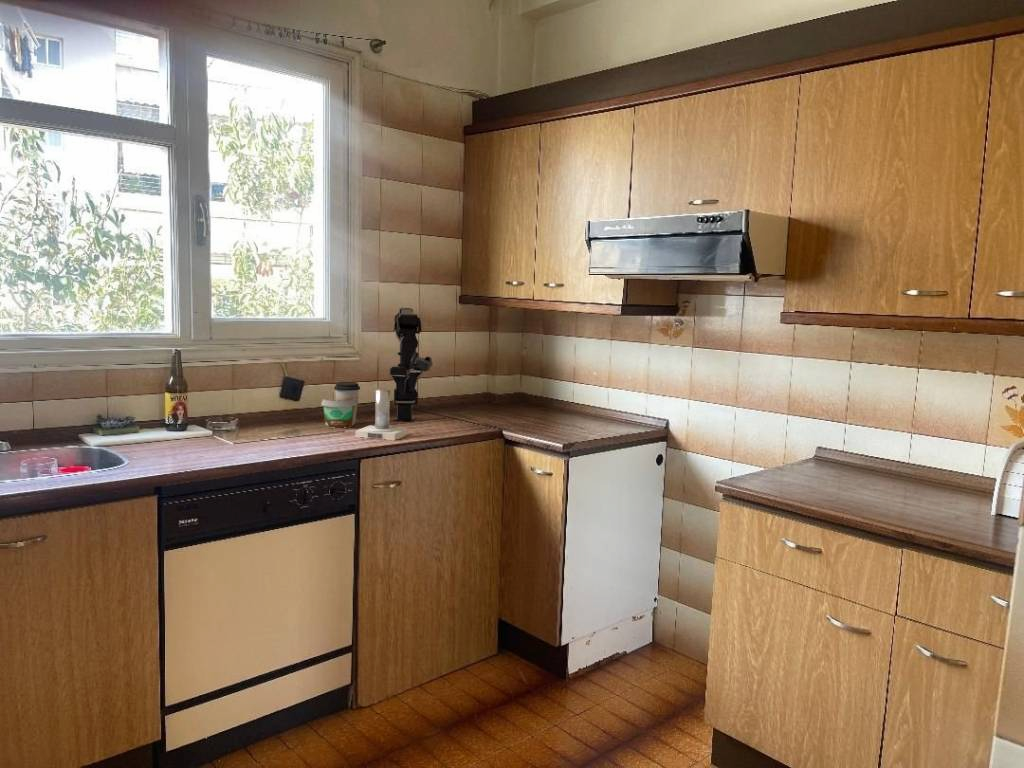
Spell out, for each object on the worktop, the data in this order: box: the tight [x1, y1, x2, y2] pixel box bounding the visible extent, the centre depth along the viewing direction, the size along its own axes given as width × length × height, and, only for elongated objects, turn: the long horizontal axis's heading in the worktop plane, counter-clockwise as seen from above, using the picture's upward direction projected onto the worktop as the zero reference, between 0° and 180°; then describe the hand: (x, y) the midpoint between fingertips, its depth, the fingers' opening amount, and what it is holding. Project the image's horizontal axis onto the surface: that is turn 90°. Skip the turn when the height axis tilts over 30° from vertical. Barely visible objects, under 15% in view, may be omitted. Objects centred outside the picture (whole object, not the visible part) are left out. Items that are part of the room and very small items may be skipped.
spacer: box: [374, 388, 391, 429], centre depth 253 cm, size 5×5×13 cm
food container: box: [321, 398, 356, 429], centre depth 266 cm, size 12×6×10 cm, turn 105°
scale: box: [355, 425, 408, 441], centre depth 253 cm, size 12×14×3 cm
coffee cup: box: [333, 381, 361, 425], centre depth 273 cm, size 9×9×15 cm
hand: (407, 393), depth 266 cm, fingers open, 9 cm apart
